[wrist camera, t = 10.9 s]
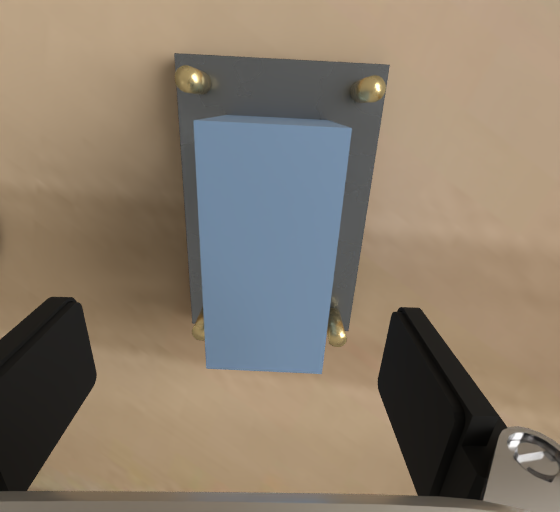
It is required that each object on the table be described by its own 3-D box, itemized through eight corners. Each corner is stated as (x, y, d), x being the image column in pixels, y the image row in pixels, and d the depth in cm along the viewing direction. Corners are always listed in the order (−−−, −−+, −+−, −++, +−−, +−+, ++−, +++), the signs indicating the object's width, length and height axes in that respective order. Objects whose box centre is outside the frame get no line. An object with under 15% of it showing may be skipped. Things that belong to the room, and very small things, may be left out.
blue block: (226, 114, 20) (193, 120, 13) (327, 120, 20) (351, 128, 13) (229, 291, 25) (206, 368, 18) (311, 295, 25) (321, 373, 18)
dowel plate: (196, 314, 27) (181, 349, 23) (180, 56, 20) (155, 44, 16) (345, 322, 27) (355, 357, 24) (383, 66, 20) (407, 57, 16)
